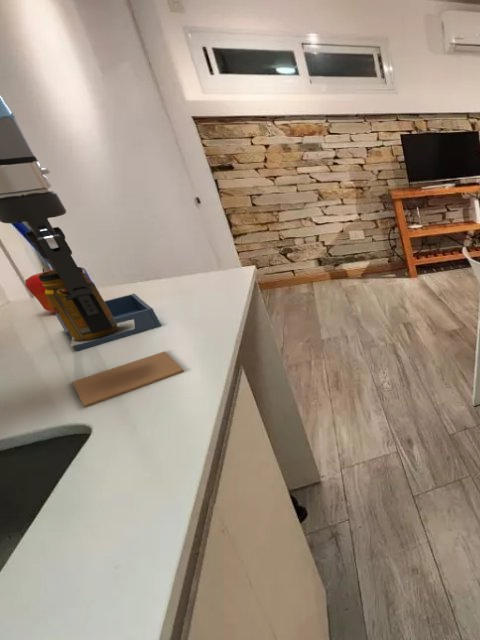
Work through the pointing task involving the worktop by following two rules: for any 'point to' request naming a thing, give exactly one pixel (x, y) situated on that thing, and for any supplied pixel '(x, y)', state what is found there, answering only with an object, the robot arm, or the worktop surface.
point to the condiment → (72, 315)
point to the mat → (125, 378)
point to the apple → (39, 291)
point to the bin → (124, 318)
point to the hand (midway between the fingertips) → (99, 326)
